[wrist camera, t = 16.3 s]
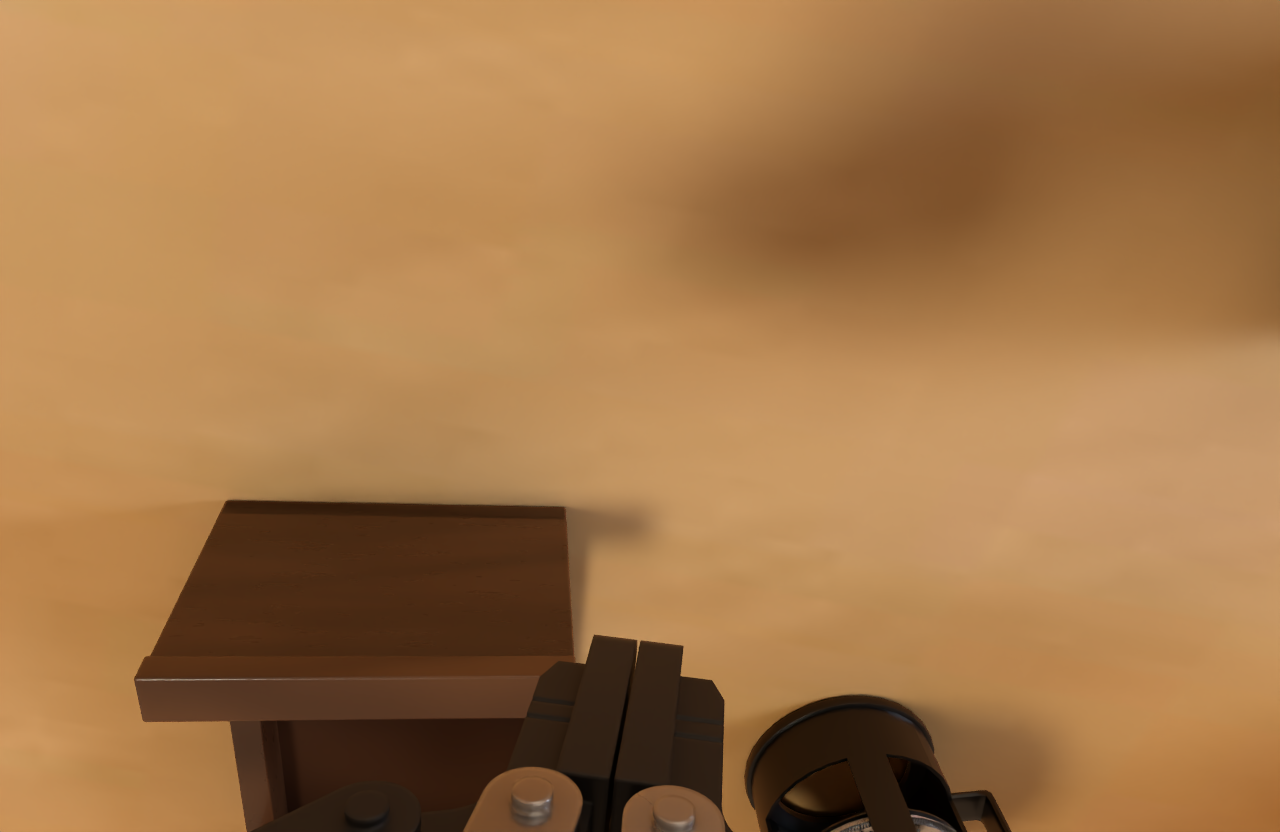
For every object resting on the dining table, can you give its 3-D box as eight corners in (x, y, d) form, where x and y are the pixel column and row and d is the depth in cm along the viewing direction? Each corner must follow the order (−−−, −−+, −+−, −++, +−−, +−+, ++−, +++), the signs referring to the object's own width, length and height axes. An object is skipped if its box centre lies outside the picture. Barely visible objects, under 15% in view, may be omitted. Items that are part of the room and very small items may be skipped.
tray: (224, 493, 37) (132, 678, 28) (566, 500, 38) (576, 676, 30) (269, 822, 46) (210, 1039, 37) (545, 816, 47) (549, 1021, 39)
